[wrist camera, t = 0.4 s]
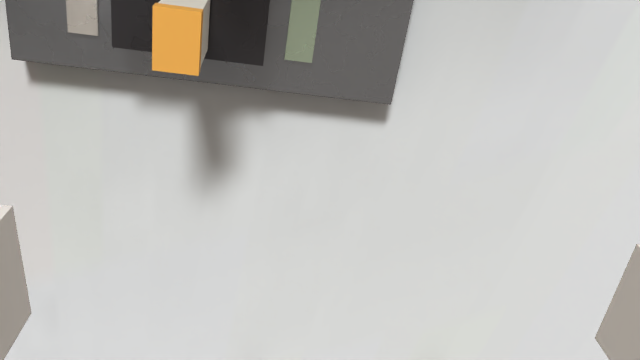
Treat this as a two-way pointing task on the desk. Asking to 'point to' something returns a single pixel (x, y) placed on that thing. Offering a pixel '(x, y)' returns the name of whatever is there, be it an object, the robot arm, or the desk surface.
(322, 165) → the desk surface
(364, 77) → the panel
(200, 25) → the block
